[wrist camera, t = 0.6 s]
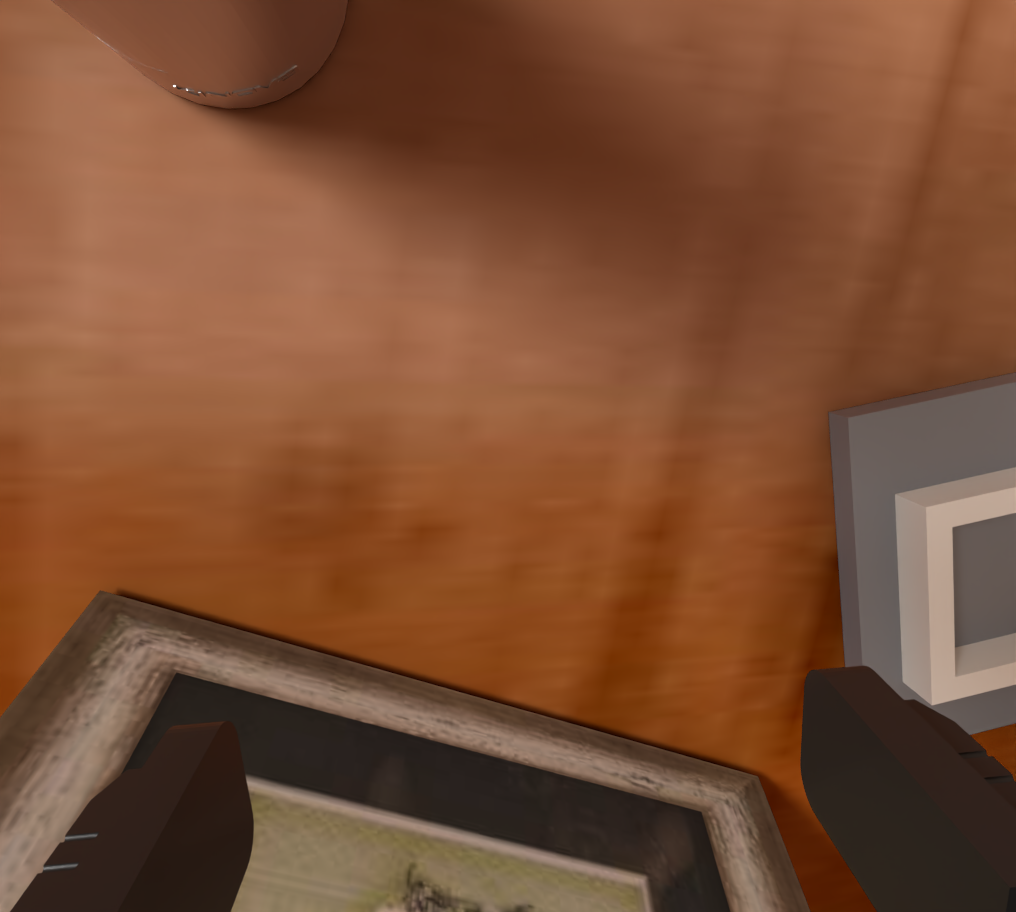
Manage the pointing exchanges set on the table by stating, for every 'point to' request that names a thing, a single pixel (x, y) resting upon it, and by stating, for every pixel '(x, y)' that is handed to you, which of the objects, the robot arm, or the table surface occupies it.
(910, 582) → the grey base with frame
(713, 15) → the table surface
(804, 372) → the table surface
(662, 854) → the picture frame
